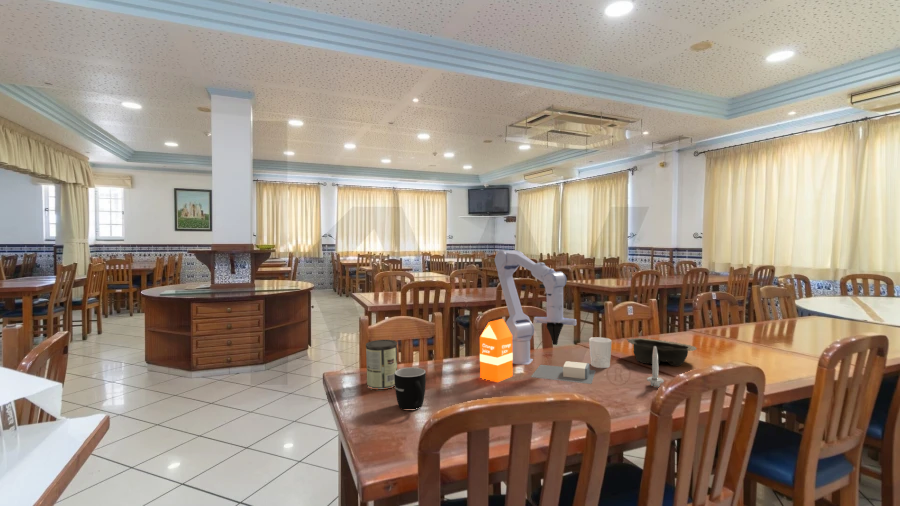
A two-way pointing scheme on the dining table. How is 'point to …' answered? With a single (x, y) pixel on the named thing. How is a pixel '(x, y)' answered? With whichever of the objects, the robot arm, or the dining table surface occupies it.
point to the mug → (410, 387)
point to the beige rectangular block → (576, 370)
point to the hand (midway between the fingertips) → (555, 344)
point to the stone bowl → (660, 351)
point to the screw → (655, 370)
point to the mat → (559, 374)
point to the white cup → (600, 352)
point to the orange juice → (496, 352)
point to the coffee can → (381, 363)
